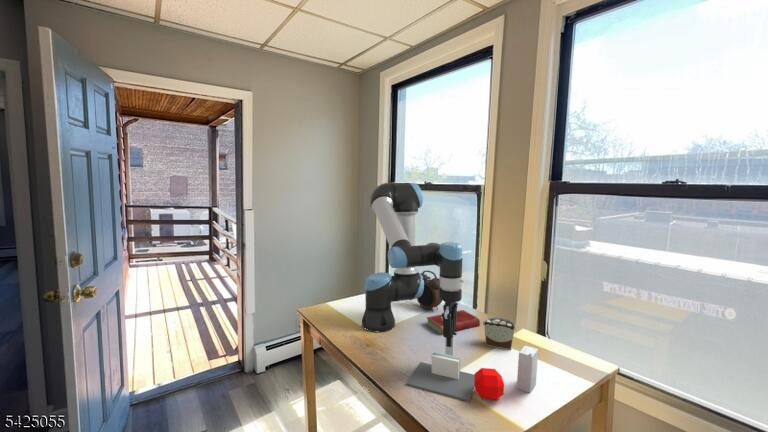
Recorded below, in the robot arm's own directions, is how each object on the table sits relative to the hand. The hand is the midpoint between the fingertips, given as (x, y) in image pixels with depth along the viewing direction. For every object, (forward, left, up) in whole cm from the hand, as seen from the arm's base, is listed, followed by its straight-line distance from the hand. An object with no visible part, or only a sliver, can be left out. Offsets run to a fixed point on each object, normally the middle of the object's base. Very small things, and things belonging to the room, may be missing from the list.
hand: (449, 353), depth 115 cm
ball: (+15, -10, -5) cm, 19 cm away
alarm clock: (-23, +49, -5) cm, 55 cm away
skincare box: (+25, -1, -5) cm, 25 cm away
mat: (0, -9, -5) cm, 10 cm away
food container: (+14, +25, -5) cm, 29 cm away
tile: (0, -6, -4) cm, 7 cm away
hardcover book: (-7, +35, -6) cm, 36 cm away
